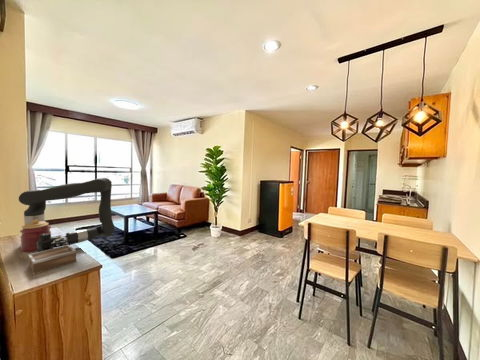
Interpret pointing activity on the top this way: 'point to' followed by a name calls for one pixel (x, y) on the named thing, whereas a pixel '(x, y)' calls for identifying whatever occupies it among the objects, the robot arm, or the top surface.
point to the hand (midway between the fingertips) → (39, 245)
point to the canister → (33, 234)
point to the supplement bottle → (44, 241)
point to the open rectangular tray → (51, 258)
